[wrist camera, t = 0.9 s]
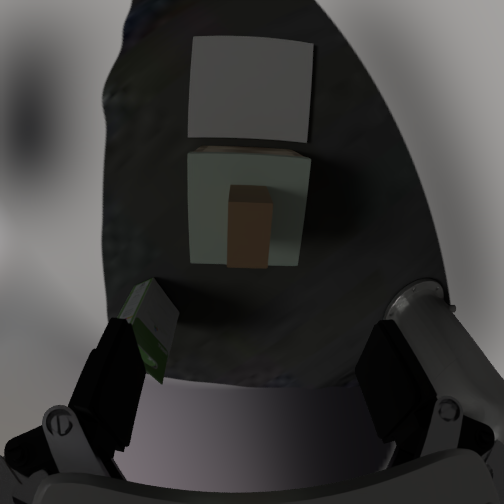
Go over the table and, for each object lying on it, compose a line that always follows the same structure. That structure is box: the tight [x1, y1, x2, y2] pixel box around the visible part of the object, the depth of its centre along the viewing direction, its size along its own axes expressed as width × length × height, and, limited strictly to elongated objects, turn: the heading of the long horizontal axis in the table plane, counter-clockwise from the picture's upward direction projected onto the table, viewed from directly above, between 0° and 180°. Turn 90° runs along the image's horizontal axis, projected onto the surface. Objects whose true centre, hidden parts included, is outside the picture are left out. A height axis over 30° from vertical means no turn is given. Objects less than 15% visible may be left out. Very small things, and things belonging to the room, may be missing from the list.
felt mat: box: [188, 36, 313, 143], centre depth 25 cm, size 13×12×1 cm
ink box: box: [117, 278, 179, 384], centre depth 32 cm, size 7×4×13 cm, turn 24°
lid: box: [188, 152, 311, 268], centre depth 22 cm, size 10×10×7 cm
